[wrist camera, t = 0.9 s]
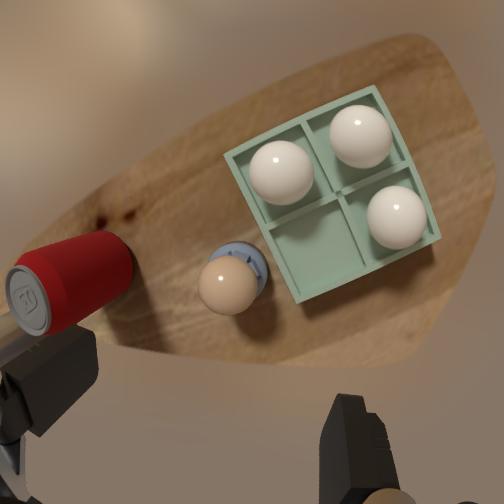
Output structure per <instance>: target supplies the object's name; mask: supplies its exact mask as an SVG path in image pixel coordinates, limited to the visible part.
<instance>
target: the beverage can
mask: <svg viewBox="0 0 504 504" xmlns="http://www.w3.org/2000/svg"><path fill="white" fill-rule="evenodd" d="M132 277H133V262H132V258H131V255H130V252H129V250H128V248H127V247H126V245H125V244H124V242H123V241H122V240H121V239H120V238H119V237H118V236H116V235H115V234H113V233H111V232H108V231H97V232H93V233H89V234H85V235H81V236H78V237H74V238H71V239H67V240H64V241H61V242H57V243H54V244H51V245H48V246H45V247H42V248H39V249H36V250H33V251H30V252H27V253H25V254H23V255H22V256H21V257H20V258H19V259H18V261H17V262H16V264H15V265H14V267H12V268H11V269H10V270H9V271H8V273H7V275H6V279H5V294H6V299H7V303H8V306H9V308H10V311H11V313H12V315H13V317H14V318H15V320H16V321H17V323H18V324H19V325H20V327H21V328H22V329H23V330H25V331H26V332H27V333H29V334H31V335H33V336H40V335H49V336H51V335H54V334H57V333H60V332H62V331H63V330H65V329H66V328H68V327H69V326H71V325H75V324H76V323H78V322H80V321H81V320H83V319H84V318H86V317H87V316H89V315H90V314H92V313H93V312H95V311H97V310H98V309H100V308H101V307H103V306H104V305H106V304H107V303H109V302H110V301H112V300H113V299H115V298H116V297H118V296H119V295H121V294H122V293H124V292H125V291H126V290H127V289H128V287H129V285H130V283H131V281H132Z"/></svg>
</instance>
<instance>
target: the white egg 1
mask: <svg viewBox="0 0 504 504" xmlns="http://www.w3.org/2000/svg"><path fill="white" fill-rule="evenodd" d="M249 180H250V184H251V186H252V188H253V190H254V191H255V193H256V194H257V195H258V196H259V197H260V198H261V199H263V200H264V201H266V202H268V203H270V204H274V205H290V204H293V203H296V202H298V201H299V200H301V199H302V198H303V197H304V196H305V195H306V194H307V193H308V192H309V190H310V189H311V186H312V184H313V181H314V166H313V163H312V160H311V158H310V157H309V155H308V154H307V152H306V151H305V150H304V149H303V148H301V147H300V146H298V145H297V144H295V143H292V142H289V141H273V142H270V143H268V144H266V145H264V146H262V147H261V148H260V149H259V150H258V151H257V152H256V153H255V154H254V156H253V157H252V159H251V162H250V165H249Z"/></svg>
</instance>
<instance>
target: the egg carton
mask: <svg viewBox="0 0 504 504" xmlns="http://www.w3.org/2000/svg"><path fill="white" fill-rule="evenodd" d="M353 105H364V106H368V107H371V108H373V109H375V110H377V111H378V112H379V113H381V114H382V115H383V116H384V117H385V119H386V120H387V122H388V123H389V125H390V128H391V131H392V138H393V141H392V147H391V150H390V152H389V154H388V156H387V157H386V158H385V159H384V160H383V161H382V162H381V163H380V164H378V165H376V166H374V167H371V168H366V169H359V168H354V167H351V166H348V165H346V164H345V163H343V162H342V161H341V160H340V159H339V158H338V157H337V156H336V155H335V154H334V152H333V150H332V148H331V146H330V143H329V127H330V124H331V121H332V120H333V118H334V117H335V116H336V114H337V113H338V112H339V111H341V110H342V109H344V108H346V107H349V106H353ZM273 141H289V142H292V143H295V144H297V145H298V146H300V147H301V148H303V149H304V150H305V151H306V152H307V154H308V155H309V157H310V158H311V160H312V163H313V166H314V181H313V184H312V186H311V189H310V190H309V192H308V193H307V194H306V195H305V196H304V197H303V198H302V199H301V200H299V201H298V202H296V203H293V204H290V205H274V204H270V203H268V202H266V201H264V200H263V199H261V198H260V197H259V196H258V195H257V194H256V193H255V191H254V190H253V188H252V186H251V184H250V180H249V165H250V162H251V159H252V157H253V156H254V154H255V153H256V152H257V151H258V150H259V149H260V148H261V147H262V146H264V145H266V144H268V143H270V142H273ZM223 155H224V157H225V159H226V161H227V163H228V165H229V167H230V169H231V171H232V173H233V175H234V177H235V179H236V181H237V183H238V185H239V187H240V189H241V191H242V193H243V195H244V197H245V199H246V201H247V203H248V205H249V207H250V209H251V211H252V213H253V215H254V217H255V219H256V221H257V223H258V225H259V227H260V229H261V232H262V234H263V236H264V238H265V240H266V242H267V244H268V246H269V248H270V250H271V252H272V254H273V256H274V258H275V260H276V262H277V264H278V266H279V269H280V271H281V273H282V275H283V277H284V279H285V281H286V283H287V285H288V287H289V289H290V291H291V293H292V296H293V298H294V300H295V302H296V304H298V303H300V302H303V301H305V300H308V299H310V298H313V297H315V296H317V295H320V294H322V293H324V292H327V291H329V290H331V289H334V288H336V287H338V286H341V285H343V284H345V283H348V282H350V281H352V280H354V279H357V278H359V277H361V276H363V275H366V274H368V273H370V272H372V271H374V270H377V269H379V268H381V267H383V266H385V265H387V264H389V263H392V262H394V261H396V260H398V259H400V258H402V257H404V256H406V255H408V254H410V253H413V252H415V251H417V250H419V249H421V248H423V247H425V246H427V245H429V244H431V243H433V242H435V241H437V240H439V239H441V235H440V231H439V228H438V225H437V222H436V219H435V216H434V214H433V211H432V208H431V205H430V202H429V200H428V197H427V194H426V192H425V189H424V187H423V184H422V182H421V179H420V177H419V174H418V172H417V169H416V167H415V165H414V162H413V160H412V158H411V156H410V153H409V151H408V149H407V147H406V145H405V142H404V140H403V138H402V136H401V134H400V132H399V130H398V128H397V126H396V124H395V122H394V120H393V118H392V116H391V114H390V112H389V110H388V108H387V107H386V105H385V103H384V101H383V99H382V97H381V96H380V94H379V92H378V90H377V89H376V87H375V85H372V86H370V87H367V88H365V89H362V90H359V91H357V92H354V93H352V94H349V95H347V96H345V97H342V98H340V99H337V100H335V101H333V102H330V103H328V104H326V105H323V106H321V107H319V108H316V109H314V110H312V111H310V112H308V113H305V114H303V115H301V116H299V117H297V118H294V119H292V120H290V121H288V122H286V123H284V124H282V125H280V126H278V127H276V128H273V129H271V130H269V131H267V132H265V133H263V134H261V135H259V136H257V137H255V138H253V139H251V140H249V141H248V142H246V143H244V144H242V145H240V146H238V147H236V148H234V149H232V150H230V151H228V152H227V153H225V154H223ZM395 185H396V186H403V187H406V188H409V189H411V190H412V191H414V192H415V193H416V194H417V195H418V196H419V197H420V198H421V200H422V202H423V203H424V206H425V209H426V213H427V224H426V228H425V231H424V233H423V235H422V237H421V238H420V239H419V240H418V241H417V242H416V243H415V244H414V245H412V246H410V247H408V248H405V249H400V250H395V249H389V248H386V247H384V246H382V245H381V244H379V243H378V242H377V241H376V240H375V239H374V238H373V237H372V235H371V234H370V232H369V229H368V226H367V222H366V212H367V207H368V204H369V202H370V200H371V199H372V197H373V196H374V195H375V194H376V193H377V192H378V191H380V190H381V189H383V188H385V187H388V186H395Z"/></svg>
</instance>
